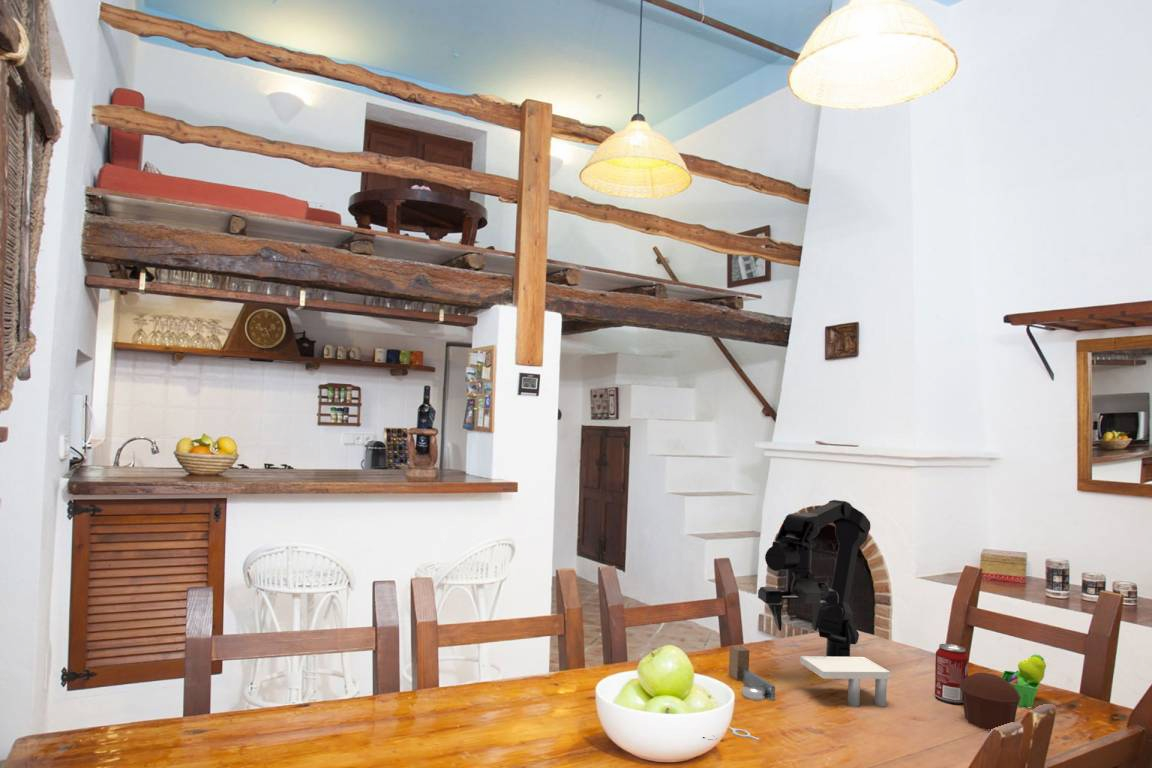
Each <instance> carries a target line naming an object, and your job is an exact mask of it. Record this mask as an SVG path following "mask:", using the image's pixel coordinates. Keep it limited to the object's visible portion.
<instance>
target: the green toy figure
mask: <svg viewBox="0 0 1152 768" xmlns="http://www.w3.org/2000/svg"><path fill="white" fill-rule="evenodd" d="M1046 664H1047V663H1046V662H1045V658H1044V657H1042V656H1041V655H1039V654H1036V653H1035V654H1032V655H1031V656H1030V657H1029V658H1026V659H1023V660H1021V661H1019V662H1018V664H1017V668H1018V670H1016V671H1011V670H1004V671H1003V673H1002V675H1001V676H1000V677H1001V678H1003V679H1005V680H1006V681H1007V682H1009V683H1010V684H1011V685H1012V686H1014V688H1015V689H1016V690H1017V692H1018V693H1019V695H1020V697H1021V699H1020V701H1019V702H1018V707H1023V708H1027V707H1033V704H1034V700H1035V697H1036V695H1037V692H1038V689H1039V686H1040V683H1041V682H1042V681H1043V679H1044V678H1045V672H1046V671H1045V670H1046V668H1047V665H1046Z"/></svg>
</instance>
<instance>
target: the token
mask: <svg viewBox="0 0 1152 768" xmlns="http://www.w3.org/2000/svg"><path fill="white" fill-rule="evenodd" d="M741 689H742V691H741V696H742V697H743V698H745V699H748V700H751V701H752V700H753V701H762V700H763V701H764V700H765V698H766V697H765V688H764V687H762V686H759V685H754V684H743V685H742V688H741Z"/></svg>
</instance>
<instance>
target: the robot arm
mask: <svg viewBox="0 0 1152 768" xmlns="http://www.w3.org/2000/svg"><path fill="white" fill-rule="evenodd" d="M784 518H785V519H784V520H783V522H782V524H781V526H780V528H779V531H778V533H777V535H776V537H775V541H773V542H772V546H771V547H769V548H768V549H767V550H766V551H765V554H764V556H765V557H764V559H765V560H764V561H765V563H766V565H767V566H768V568H769V569H770V570H772V571H775V572H779V571H784V573H785V574H786V584H784V585H783V587H784V589H785V590H780V589H778V588H776V587H775V586H760V588H759V589H758V591H757V592H758V593H757V598H758V599H759V600H761V601H762V602H764V603H765V604H766V605H767V606H768V608H769V610H770V611H771V614H772V615H771V616H772V618H773V620H774V622H775V625H776V628H777V630H778V631H779V632H781V631H782V625H783V624H782V623H783V622H782V619H783V618H782V609H783V608H784V605H783V603H781V602H782V601H783V600H799V601H800V603H802V605H803V604H804V605H809V604H812V605H811V606H812V608H811V609H812V610H811V611H812V616H811V618H812V629H813V631H816V632H817V631H818V636H819V637H820V638H824V639H826V650H825V651H826V652H825V656H831V657H851V645H857V643H858V641H859V636H860V634H859V631H858V629H857V628H856V626H855V624H854V623H853V622H854V613H853V611H852V608H851V606H850V598H851V593H852V587H853V580H854V576H855V575H854V574H855V571H856V570H855V569H856V566H857V558H858V552H859V549H860V547H862V546H863V544H864V543H865V542H866V541H867V539H868V536H869V532H870V531H871V521H870V520H869V518H868V517H867V516H866V515H865V514H864V513H863V512H862V511H860V510H859V509H857V508H855V506H854V507H853V505H852V504H851V503H850V502H848V501H845V500H838V499H832V500H829V501H828V502H827V503H825V504H823V505H821V506H819V507H816V508H814V509H813V510H810V511H808V512H794V513H788V514H787V515H786V516H785V517H784ZM830 524H832V525H833V526H834V527H835V529H834V534H835V536H836V537H835V538H836V539H837V542H838V549H837V555H836V560H835V567H834V571H833V576H832V583H831V588H830V585H829V583H828V582H826V581H819V582H815V577H814V573H813V572H812V548H815V547H816V545H817V544H816V543H815V542H814V541H813V539H815V537H817V536H818V535H820V529H822V528H824V527H826V526H827V525H830Z"/></svg>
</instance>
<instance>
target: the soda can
mask: <svg viewBox="0 0 1152 768" xmlns="http://www.w3.org/2000/svg"><path fill="white" fill-rule="evenodd" d="M934 664H935V665H934V667H935V669H934V670H935V672H934V695H935V697H937V698H938V699H939V700H940V701H942V702H946V703H948V702H949V704H953V703H955V704H954V705H956V704H957V705H960V704H963V698H962V691H961V690H960V688H959V685H960V684H961V683H962V681H963V680H964V679H965V678H966V677H967V676H969V657H968V654H967V653H966V648H965V647H963V646H960V645H958V644H957V645H956V644H952V643H951V644H950V643H940V644H939V645H938V648H937V650H936V651H935V663H934Z"/></svg>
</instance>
